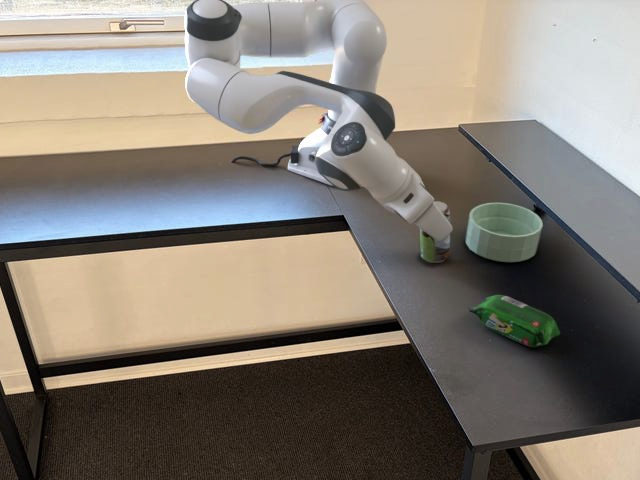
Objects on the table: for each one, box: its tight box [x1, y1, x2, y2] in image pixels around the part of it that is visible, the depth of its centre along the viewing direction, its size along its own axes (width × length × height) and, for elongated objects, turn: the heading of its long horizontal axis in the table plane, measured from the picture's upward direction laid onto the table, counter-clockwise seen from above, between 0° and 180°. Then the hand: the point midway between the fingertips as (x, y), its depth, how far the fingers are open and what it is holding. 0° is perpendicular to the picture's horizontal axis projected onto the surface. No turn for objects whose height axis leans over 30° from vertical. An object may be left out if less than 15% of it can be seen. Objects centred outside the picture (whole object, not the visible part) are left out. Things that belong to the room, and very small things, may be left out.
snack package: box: [468, 294, 561, 348], centre depth 130 cm, size 7×16×5 cm, turn 52°
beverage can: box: [419, 200, 451, 264], centre depth 147 cm, size 6×7×12 cm
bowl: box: [465, 202, 544, 263], centre depth 155 cm, size 15×15×6 cm
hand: (436, 225), depth 148 cm, fingers closed on beverage can, 5 cm apart
